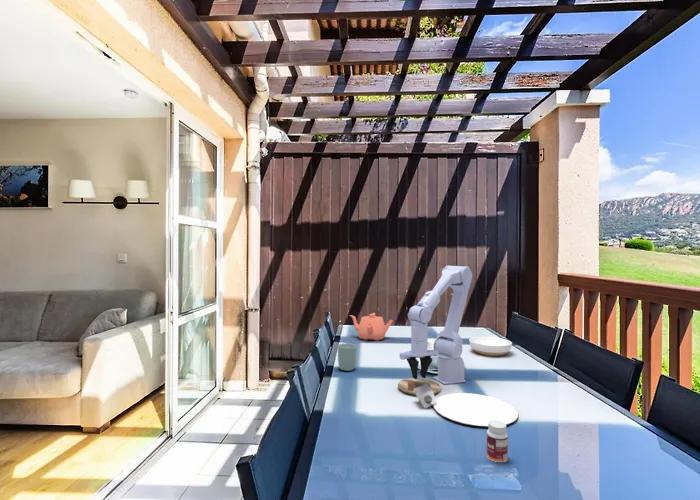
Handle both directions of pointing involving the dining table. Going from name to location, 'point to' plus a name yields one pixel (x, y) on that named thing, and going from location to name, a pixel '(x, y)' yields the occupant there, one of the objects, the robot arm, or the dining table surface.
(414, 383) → the turntable
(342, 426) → the dining table surface
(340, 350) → the cup
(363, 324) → the teapot
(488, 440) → the pill bottle
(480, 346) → the bowl
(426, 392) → the grey block
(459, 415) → the plate
